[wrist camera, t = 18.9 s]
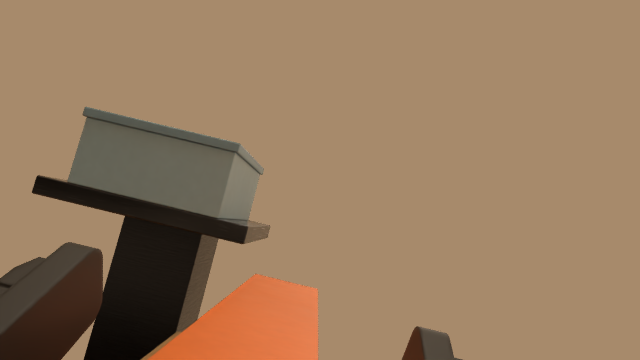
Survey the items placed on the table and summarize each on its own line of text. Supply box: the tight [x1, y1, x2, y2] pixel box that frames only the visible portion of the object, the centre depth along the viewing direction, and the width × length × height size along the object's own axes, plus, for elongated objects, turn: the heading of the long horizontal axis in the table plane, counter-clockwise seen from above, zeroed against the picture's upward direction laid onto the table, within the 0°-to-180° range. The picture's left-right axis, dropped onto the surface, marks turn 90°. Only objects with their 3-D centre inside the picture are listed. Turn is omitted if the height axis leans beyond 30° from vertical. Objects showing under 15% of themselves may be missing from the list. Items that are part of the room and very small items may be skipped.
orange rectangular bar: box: [147, 274, 318, 360], centre depth 20 cm, size 4×19×4 cm, turn 0°
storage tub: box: [67, 107, 264, 220], centre depth 33 cm, size 10×12×5 cm
